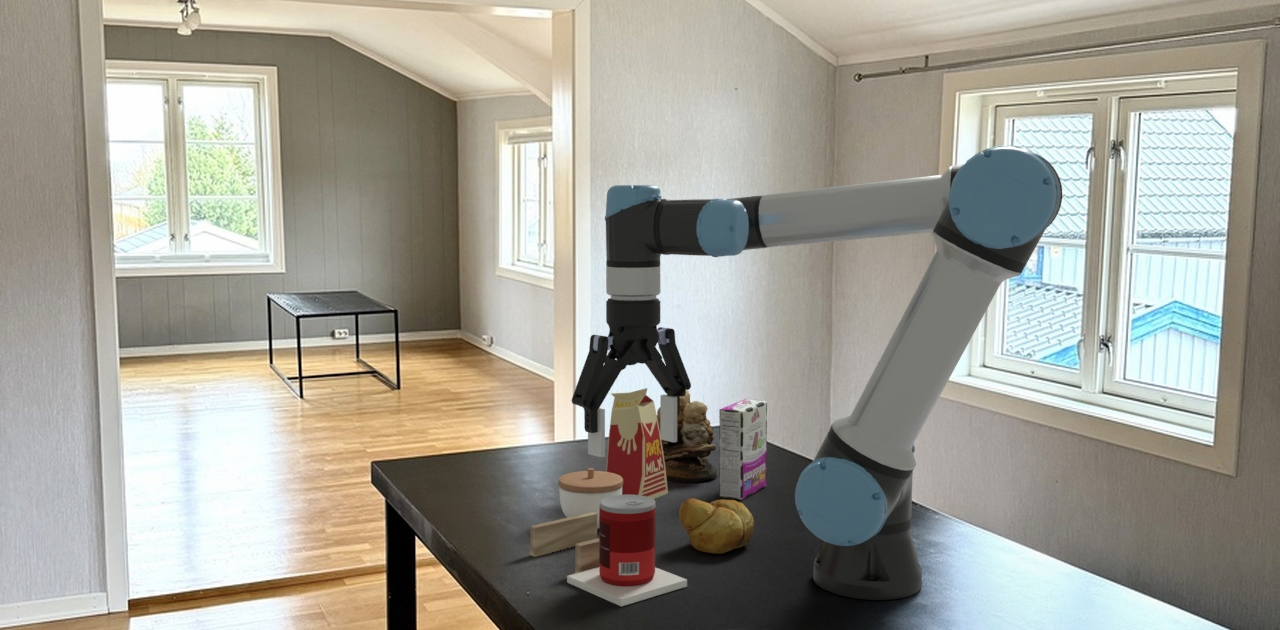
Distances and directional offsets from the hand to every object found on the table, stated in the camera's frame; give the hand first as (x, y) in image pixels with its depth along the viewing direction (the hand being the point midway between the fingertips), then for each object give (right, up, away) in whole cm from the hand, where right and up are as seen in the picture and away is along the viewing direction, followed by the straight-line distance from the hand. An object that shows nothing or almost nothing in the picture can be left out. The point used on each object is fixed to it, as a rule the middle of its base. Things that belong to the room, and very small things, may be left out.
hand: (633, 448), depth 159 cm
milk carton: (0, -14, +47) cm, 49 cm away
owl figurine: (+9, -13, +63) cm, 65 cm away
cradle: (-7, -18, +12) cm, 23 cm away
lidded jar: (-7, -16, +29) cm, 34 cm away
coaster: (-1, -19, +1) cm, 19 cm away
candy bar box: (+20, -14, +50) cm, 55 cm away
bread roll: (+14, -18, +19) cm, 29 cm away
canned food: (-1, -19, +1) cm, 19 cm away
